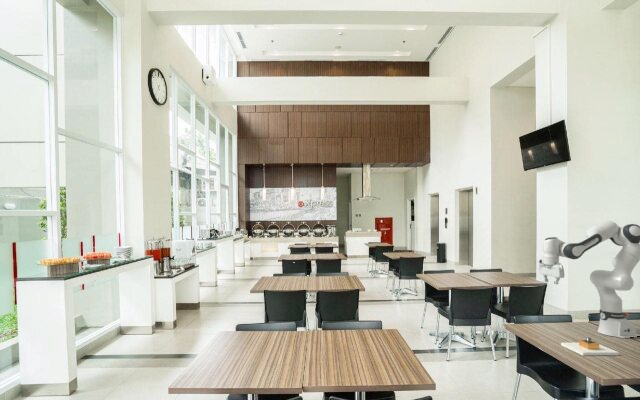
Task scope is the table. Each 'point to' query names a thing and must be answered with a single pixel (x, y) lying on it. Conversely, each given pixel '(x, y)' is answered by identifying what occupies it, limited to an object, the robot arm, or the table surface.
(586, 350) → the plate
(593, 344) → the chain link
